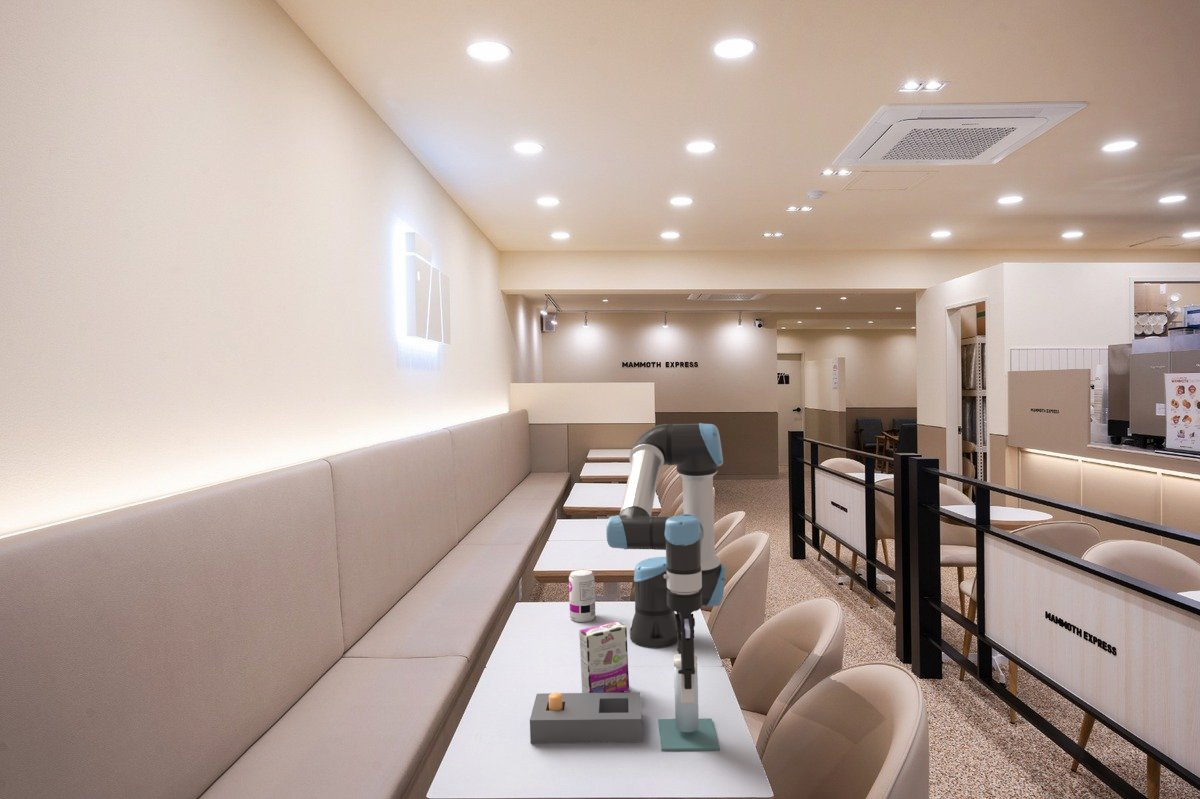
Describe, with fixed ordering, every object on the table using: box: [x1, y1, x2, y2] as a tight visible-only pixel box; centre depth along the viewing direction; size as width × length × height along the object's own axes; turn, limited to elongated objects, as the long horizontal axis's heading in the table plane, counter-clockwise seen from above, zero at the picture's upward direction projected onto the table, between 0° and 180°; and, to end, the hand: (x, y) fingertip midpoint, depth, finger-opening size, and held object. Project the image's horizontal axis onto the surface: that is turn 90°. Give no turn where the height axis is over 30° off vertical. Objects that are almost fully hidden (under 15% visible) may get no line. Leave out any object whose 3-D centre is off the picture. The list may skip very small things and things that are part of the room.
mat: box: [657, 717, 720, 752], centre depth 146 cm, size 12×12×1 cm
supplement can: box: [568, 568, 596, 623], centre depth 217 cm, size 8×8×15 cm
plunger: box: [549, 692, 563, 711], centre depth 150 cm, size 3×3×6 cm
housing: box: [529, 691, 643, 744], centre depth 150 cm, size 24×12×5 cm, turn 88°
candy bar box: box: [578, 620, 630, 693], centre depth 166 cm, size 11×5×16 cm, turn 117°
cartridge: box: [673, 653, 700, 732], centre depth 146 cm, size 5×5×15 cm
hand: (686, 695), depth 146 cm, fingers closed on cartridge, 5 cm apart
